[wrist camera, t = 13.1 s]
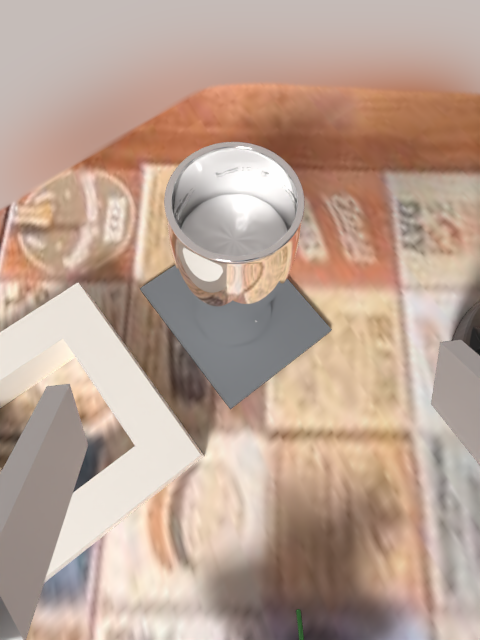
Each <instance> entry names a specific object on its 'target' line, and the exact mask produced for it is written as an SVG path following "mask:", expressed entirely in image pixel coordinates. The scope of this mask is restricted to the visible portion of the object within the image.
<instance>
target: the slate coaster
mask: <svg viewBox="0 0 480 640" xmlns="http://www.w3.org/2000/svg"><path fill="white" fill-rule="evenodd" d="M140 290H141V291H142V293H143V294H144V295H145V297H146V298H147V299H148V301H149V302H150V303H151V305H152V306H153V307H154V309H155V310H156V311H157V313H158V314H159V315H160V317H161V318H162V319H163V321H164V322H165V323H166V325H167V326H168V327H169V329H170V330H171V331H172V333H173V334H174V335H175V337H176V338H177V339H178V341H179V342H180V343H181V345H182V346H183V347H184V349H185V350H186V351H187V352H188V354H189V355H190V356H191V358H192V359H193V360H194V362H195V363H196V364H197V366H198V367H199V368H200V370H201V371H202V372H203V374H204V375H205V376H206V378H207V379H208V380H209V382H210V383H211V384H212V386H213V387H214V388H215V390H216V391H217V392H218V394H219V395H220V396H221V398H222V399H223V400H224V402H225V403H226V404H227V406H228V407H229V408H230V409H232V408H233V407H234V406H235V405H237V404H238V403H239V402H241V401H242V400H243V399H244V398H246V397H247V396H248V395H250V394H251V393H252V392H253V391H255V390H256V389H257V388H259V387H260V386H261V385H262V384H264V383H265V382H266V381H268V380H269V379H270V378H271V377H273V376H274V375H275V374H277V373H278V372H279V371H280V370H282V369H283V368H284V367H286V366H287V365H288V364H289V363H291V362H292V361H293V360H295V359H296V358H297V357H298V356H300V355H301V354H302V353H304V352H305V351H306V350H307V349H309V348H310V347H311V346H313V345H314V344H315V343H316V342H318V341H319V340H320V339H322V338H323V337H324V336H326V335H327V334H328V333H329V332H330V331H331V330H332V329H331V328H330V327H329V326H328V325H327V324H326V323H325V321H324V320H323V319H322V318H321V317H320V316H319V315H318V313H317V312H316V311H315V310H314V309H313V308H312V307H311V305H310V304H309V303H308V302H307V301H306V300H305V298H304V297H303V296H302V295H301V294H300V293H299V292H298V290H297V289H296V288H295V287H294V286H293V285H292V284H291V282H290V281H289V280H288V279H286V281H285V283H284V284H283V286H282V287H281V289H280V290H279V292H278V293H277V294H276V296H275V297H274V298H273V299H272V300H271V317H270V321H269V323H268V325H267V327H266V329H265V330H264V331H263V333H262V334H261V335H260V336H258V337H257V338H256V339H254V340H253V341H251V342H248V343H246V344H242V345H236V346H230V345H224V344H220V343H218V342H215V341H213V340H212V339H210V338H209V337H208V336H206V335H205V334H204V333H203V331H202V330H201V329H200V327H199V325H198V323H197V321H196V318H195V312H194V305H195V299H194V298H193V296H192V295H191V294H190V292H189V291H188V290H187V288H186V286H185V285H184V283H183V281H182V280H181V278H180V276H179V273H178V271H177V268H176V265H174V266H173V267H171V268H170V269H168V270H167V271H165V272H164V273H162V274H161V275H159V276H158V277H156V278H155V279H153V280H152V281H150V282H149V283H147V284H146V285H144V286H143V287H141V288H140Z"/></svg>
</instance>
